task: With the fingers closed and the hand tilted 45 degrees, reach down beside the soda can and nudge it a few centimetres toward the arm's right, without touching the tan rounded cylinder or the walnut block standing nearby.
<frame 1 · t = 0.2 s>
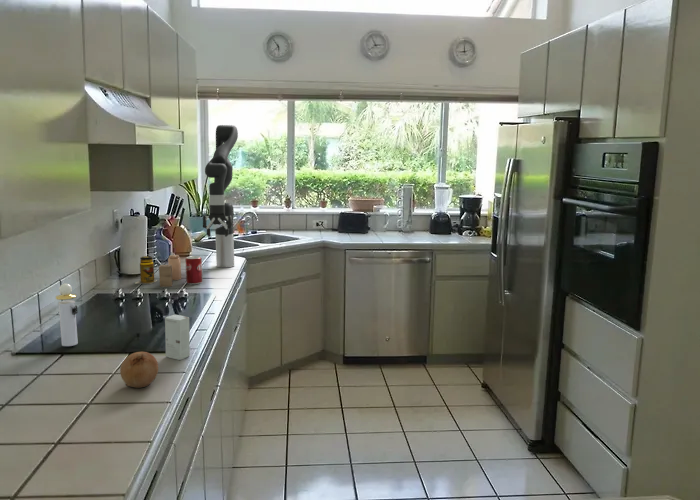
hand: (217, 236, 302), 18 cm above the worktop, tool pointing down, fingers open, 8 cm apart
perfume bottle: (70, 346, 188), on the worktop
onion: (140, 385, 157), on the worktop
soda can: (194, 283, 278), on the worktop
block: (166, 285, 273), on the worktop
skincare box: (178, 357, 179), on the worktop
yellow coffee bottle can: (146, 282, 280), on the worktop
tan rounded cylinder: (175, 278, 287), on the worktop
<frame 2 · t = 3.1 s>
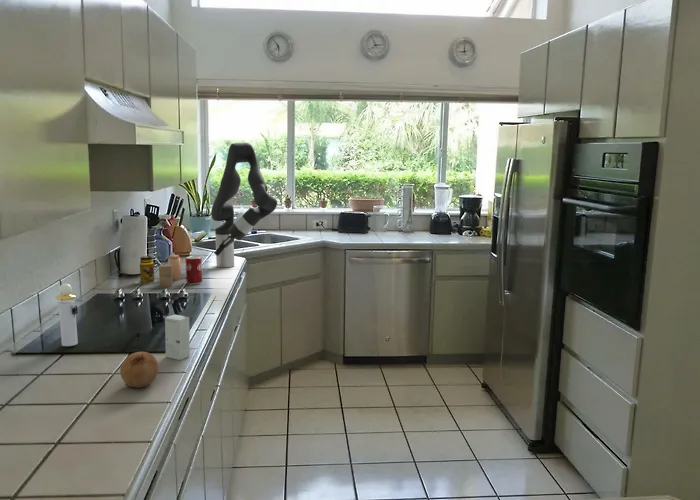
hand: (215, 254, 275), 14 cm above the worktop, tool tilted 45°, fingers closed
nothing on the worktop moved.
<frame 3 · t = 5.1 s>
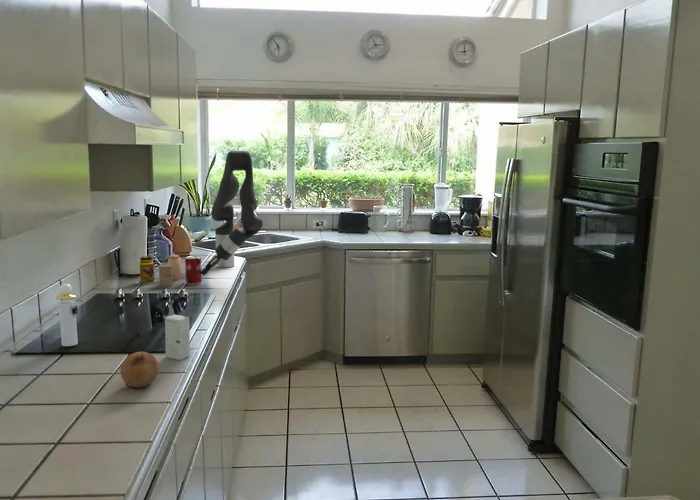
hand: (202, 273, 277), 4 cm above the worktop, tool tilted 45°, fingers closed
soda can: (194, 283, 278), on the worktop, touching gripper
everything else where it was.
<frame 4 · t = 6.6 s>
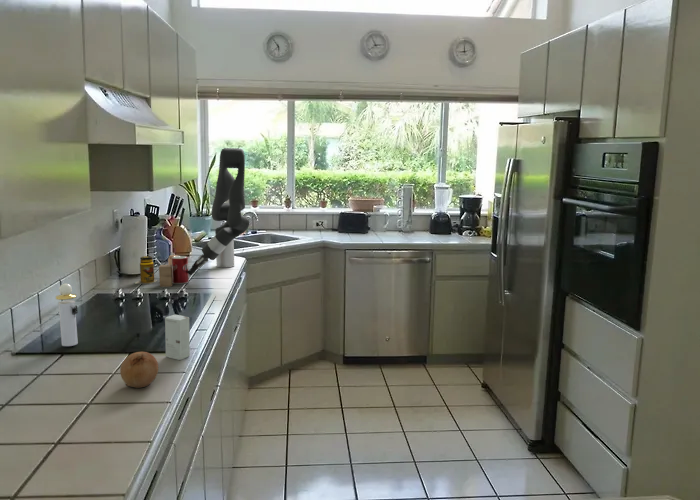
hand: (189, 273, 278), 4 cm above the worktop, tool tilted 45°, fingers closed
soda can: (180, 283, 279), on the worktop, touching gripper
everything else where it was.
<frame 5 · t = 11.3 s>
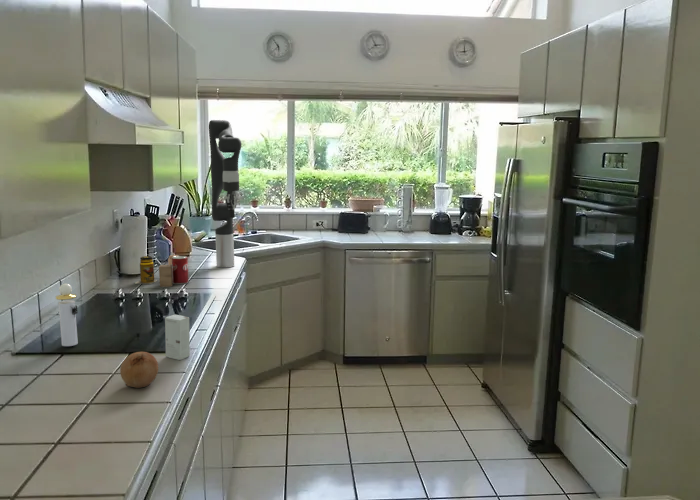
hand: (232, 217, 285), 29 cm above the worktop, tool pointing down, fingers closed
soda can: (180, 283, 279), on the worktop
everything else where it was.
at the end: soda can moved 6.4 cm from its start; soda can tilted 0°; tan rounded cylinder moved 0.0 cm from its start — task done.
